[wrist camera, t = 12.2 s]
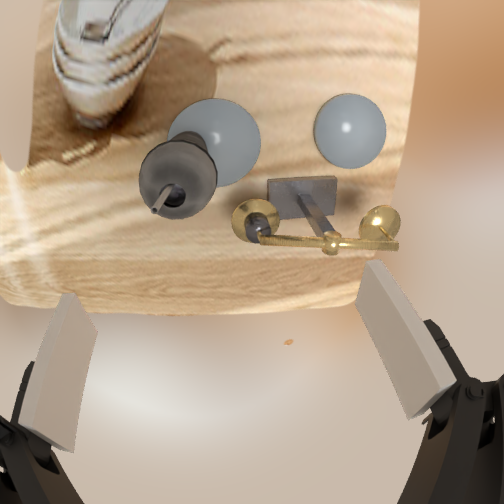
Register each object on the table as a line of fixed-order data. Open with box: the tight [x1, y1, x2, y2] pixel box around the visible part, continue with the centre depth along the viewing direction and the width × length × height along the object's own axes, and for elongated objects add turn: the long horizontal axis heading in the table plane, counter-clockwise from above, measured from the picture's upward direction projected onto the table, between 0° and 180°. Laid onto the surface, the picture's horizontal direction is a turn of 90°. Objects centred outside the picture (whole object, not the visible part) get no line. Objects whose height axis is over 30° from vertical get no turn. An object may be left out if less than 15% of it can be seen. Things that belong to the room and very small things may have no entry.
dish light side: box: [314, 94, 386, 169], centre depth 35 cm, size 11×11×1 cm
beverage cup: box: [139, 131, 218, 219], centre depth 26 cm, size 7×7×20 cm
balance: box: [231, 176, 400, 255], centre depth 35 cm, size 6×21×15 cm, turn 93°
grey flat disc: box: [167, 99, 261, 188], centre depth 35 cm, size 12×12×1 cm
